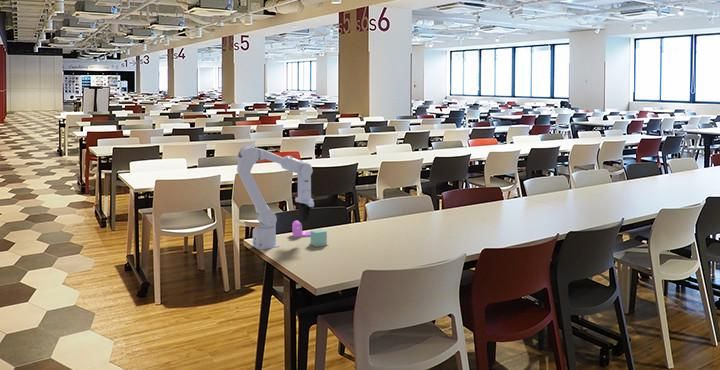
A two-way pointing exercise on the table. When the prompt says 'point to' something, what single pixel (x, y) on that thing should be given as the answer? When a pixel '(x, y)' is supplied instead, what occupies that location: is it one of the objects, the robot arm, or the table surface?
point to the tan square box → (318, 246)
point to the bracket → (298, 230)
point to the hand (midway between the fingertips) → (304, 220)
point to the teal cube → (318, 237)
